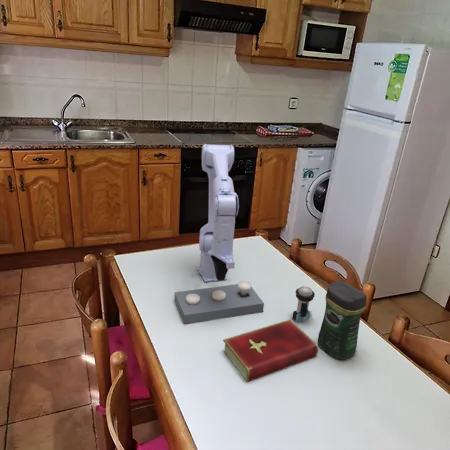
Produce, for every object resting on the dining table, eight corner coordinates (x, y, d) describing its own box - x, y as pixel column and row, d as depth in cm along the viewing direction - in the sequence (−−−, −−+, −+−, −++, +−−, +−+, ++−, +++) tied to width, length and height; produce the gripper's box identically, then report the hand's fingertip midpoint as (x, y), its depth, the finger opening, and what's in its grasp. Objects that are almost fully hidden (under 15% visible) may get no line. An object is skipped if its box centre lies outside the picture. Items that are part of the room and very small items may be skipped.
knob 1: (184, 303, 120) (184, 294, 118) (197, 302, 121) (197, 292, 120) (187, 311, 116) (188, 302, 115) (201, 309, 117) (201, 300, 116)
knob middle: (210, 300, 122) (210, 291, 121) (222, 298, 124) (223, 289, 122) (214, 307, 119) (214, 298, 118) (227, 305, 120) (227, 296, 119)
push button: (305, 311, 122) (310, 282, 119) (317, 320, 118) (322, 291, 114) (287, 316, 119) (292, 287, 115) (299, 326, 115) (304, 296, 111)
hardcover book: (316, 358, 104) (319, 345, 102) (246, 384, 94) (248, 369, 92) (288, 331, 113) (290, 318, 112) (222, 352, 104) (223, 338, 102)
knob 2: (235, 290, 124) (236, 281, 123) (247, 289, 125) (248, 280, 124) (240, 297, 121) (241, 288, 119) (252, 296, 122) (253, 286, 121)
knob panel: (174, 300, 123) (174, 292, 122) (247, 290, 131) (248, 282, 130) (184, 324, 112) (184, 315, 111) (263, 311, 120) (264, 303, 119)
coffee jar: (360, 354, 106) (374, 293, 99) (339, 364, 101) (353, 301, 94) (332, 333, 113) (344, 275, 106) (311, 342, 109) (322, 282, 102)
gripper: (202, 227, 118) (200, 268, 123) (218, 248, 105) (215, 293, 110) (225, 225, 120) (222, 266, 125) (243, 246, 108) (239, 290, 113)
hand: (220, 278), depth 118 cm, fingers closed
